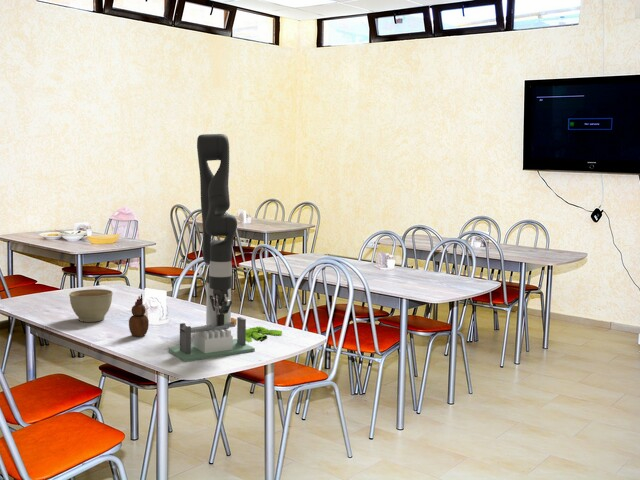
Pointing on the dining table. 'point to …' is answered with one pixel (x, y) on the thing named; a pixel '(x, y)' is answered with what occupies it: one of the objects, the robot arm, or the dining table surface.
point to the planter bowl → (91, 304)
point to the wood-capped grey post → (212, 326)
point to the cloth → (260, 333)
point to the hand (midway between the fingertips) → (220, 325)
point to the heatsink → (212, 343)
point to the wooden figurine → (138, 319)
